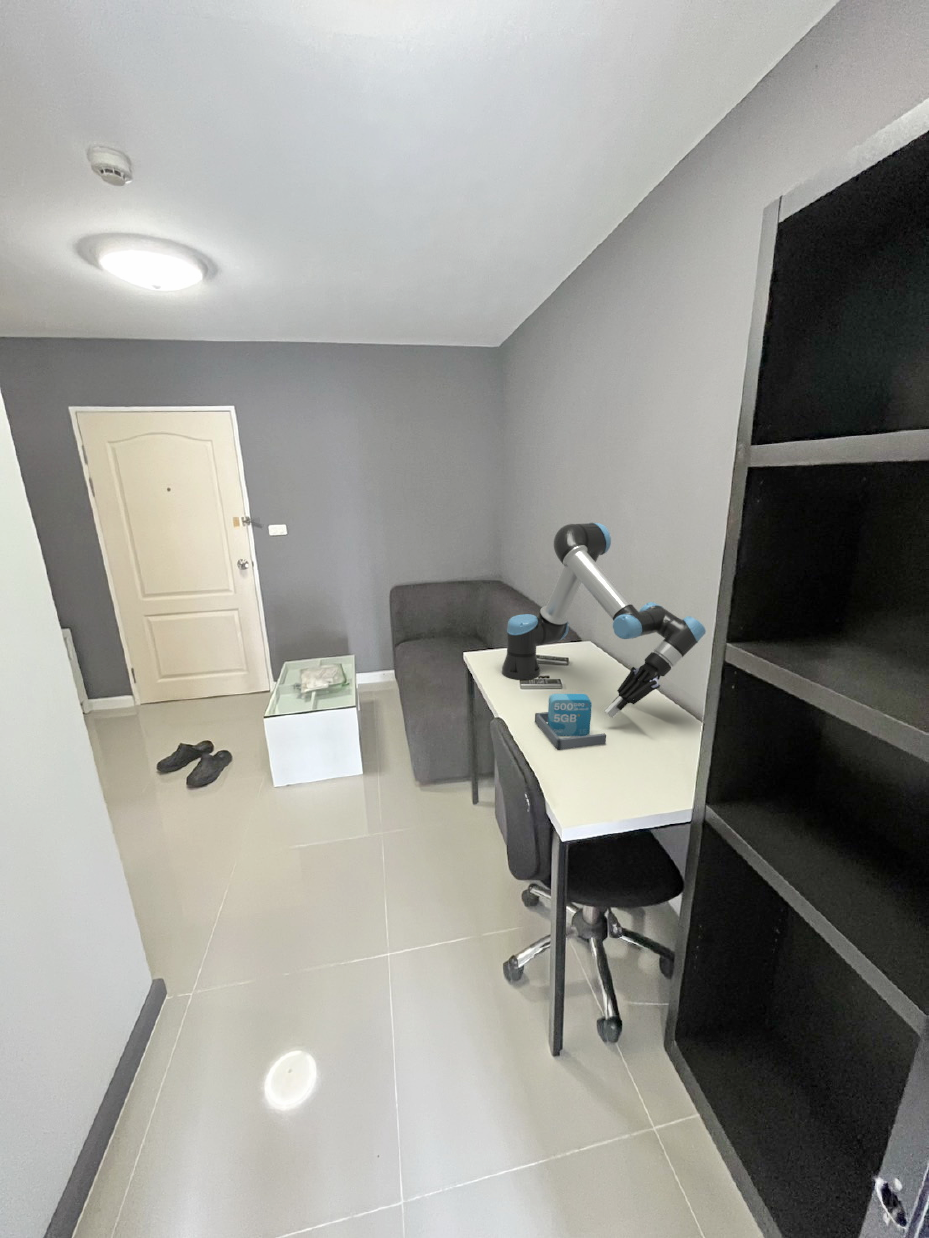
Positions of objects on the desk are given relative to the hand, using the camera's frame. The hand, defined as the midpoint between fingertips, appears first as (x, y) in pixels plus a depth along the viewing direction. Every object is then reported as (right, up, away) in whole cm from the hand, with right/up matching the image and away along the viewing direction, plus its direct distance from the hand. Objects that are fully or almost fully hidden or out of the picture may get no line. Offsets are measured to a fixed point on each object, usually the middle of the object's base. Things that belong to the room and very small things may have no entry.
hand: (608, 714), depth 150 cm
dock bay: (-12, -5, -1) cm, 13 cm away
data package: (-13, -6, -2) cm, 14 cm away
